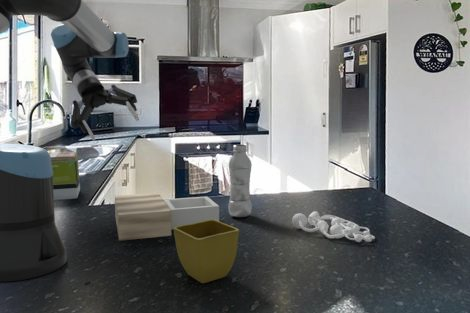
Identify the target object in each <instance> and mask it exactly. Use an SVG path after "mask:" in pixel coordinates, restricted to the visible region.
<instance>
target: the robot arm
mask: <svg viewBox="0 0 470 313" xmlns="http://www.w3.org/2000/svg"><path fill="white" fill-rule="evenodd" d="M14 16H42V17H47V18H48V19H49V20H51V21H54V22H57V23H61V24H59V25H57V26H55V27H54V28H53V29H52V30H51V32H50V37H51V40H52V43H53V46H54V48H55V49H56V52H57V54H58V56H59V59H60V61H61V63H62V64H61V65H62V68H63V70H64V73H65V75H66V76H67V77H68V78H69V80H70V82H72V85H73V87H74V88H75V89H76V91H77V93H78V94H79V97H81V100H78V101H77V100H76V99H74V100H73V101H72V105H73V109H72V114H71V118H70V119H71V120H70V124H71V126H72V128H73V129H74V130H76V129H78V128H80V130H82V132H83V134H88V135H89V136H90V138H91V140H92V141H93V142H94V141H96V138H95V135H94V133H93V131H92V130H91V128H90V127H89V125H88V123H87V122H88V120H89V118H90V116H91V113H93V112H94V109H97V108H100V107H101V106H104V105H106V104H109V105H112V104H114V105H119V106H125V107H127V110H128V111H129V113H131V115H132V116H133V118H134V119H135V121H136V122H138V121H140V118H139V115H138V113H137V110H138V109H137V106H136V103H138V100H137V96H136V94H133V93H131V92H128V91H126V90H125V89H122V88H119V87H117V85H115V84H111V86H110V88H105V87H104V85H103V84H102V83H101V81H100V80H99V78H98V77H97V75H96V73H95V72H94V71H93V70H92V67H91V66H90V64H89V62H88V60H87V58H90V59H91V58H92V59H93V58H94V59H95V58H97V59H98V58H100V59H101V58H102V59H103V58H104V59H105V58H106V59H107V58H109V59H110V58H112V59H113V58H115V59H117V58H126V57H127V56H128V54H129V50H130V48H129V47H130V45H129V44H130V43H129V39H128V36H127V34H126V33H125V32H122V31H113V30H111V28H109V27H108V25H107V24H106V23H104V21H103V20H102V19H101V18H100V17H99V16H98V15H97V14H96V13H95V11H93V10H92V9H91V7H89V6H88V5H87V3H85V2H84V1H83V0H0V35H1V34H3V33H5V32H7V31H8V30H9V29H10V25H11V20H12V17H14ZM83 106H84V108H83ZM82 108H83V109H82ZM81 109H82V111H81ZM49 153H50V152H49V151H48V150H46V149H45V148H43V147H41V146H36V145H30V144H21V143H5V142H3V143H2V142H0V282H1V283H2V282H3V283H4V282H5V283H6V282H16V281H24V280H29V279H34V278H38V277H41V276H45V275H47V274H50V273H52V272H55V271H57V270H58V269H60V268H61V267H63V266H65V264H66V263H67V261H68V260H67V259H68V257H67V248H66V246H65V243H64V241H63V239H62V237H61V234H60V232H59V229H58V227H57V225H56V219H55V200H54V194H53V170H52V164H51V157H50V154H49Z"/></svg>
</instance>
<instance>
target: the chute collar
mask: <svg viewBox="0 0 470 313" xmlns="http://www.w3.org/2000/svg"><path fill="white" fill-rule="evenodd" d="M163 200H164V202H165V203H166V205H167V206H168V207H169V209H170V210H171V231H173V228H174V227H177V226H182V225H187V224H193V223H198V222H202V221H206V220H212V219H213V220H217V221H219V222H220V206H219V204H217V203H216V202H215V201H213V200H212V199H211V198H210V197H208V195H207V196H206V195H205V196H196V197H194V196H193V197H179V198H169V199H168V198H165V199H164V198H163Z"/></svg>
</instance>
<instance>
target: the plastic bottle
mask: <svg viewBox="0 0 470 313" xmlns="http://www.w3.org/2000/svg"><path fill="white" fill-rule="evenodd" d="M232 148H233V150H232V152H233V155H232V156H231V157H230V159H229V162H228V173H229V178H230V179H229V180H230V190H229V191H230V192H229V200H228V213H229V215H230V216H231V217H234V218H235V217H236V218H245V217H248V216H250V214H251V213H252V209H253V208H252V201H251V192H250V183H251V172H252V166H253V165H252V160H251V158H250V157H249V156H248V154H247V152H248V149H247V144H233V147H232Z"/></svg>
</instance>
